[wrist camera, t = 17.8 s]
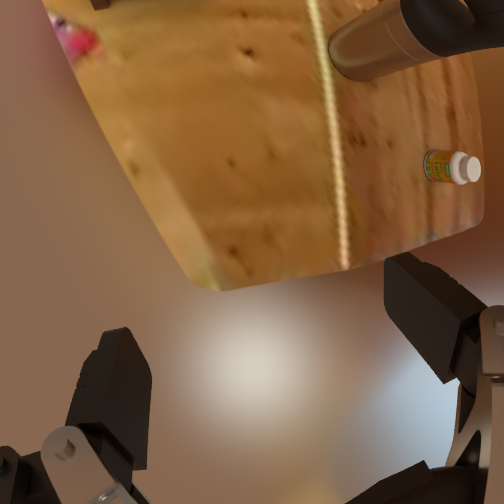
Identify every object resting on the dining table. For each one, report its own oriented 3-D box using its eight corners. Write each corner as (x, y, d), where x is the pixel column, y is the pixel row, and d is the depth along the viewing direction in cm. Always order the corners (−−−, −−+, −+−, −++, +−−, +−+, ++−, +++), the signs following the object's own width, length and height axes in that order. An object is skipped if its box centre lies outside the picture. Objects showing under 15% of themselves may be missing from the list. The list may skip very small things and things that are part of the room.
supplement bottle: (418, 160, 48) (460, 163, 39) (435, 144, 48) (476, 145, 39) (430, 186, 50) (471, 193, 41) (446, 170, 50) (486, 175, 41)
